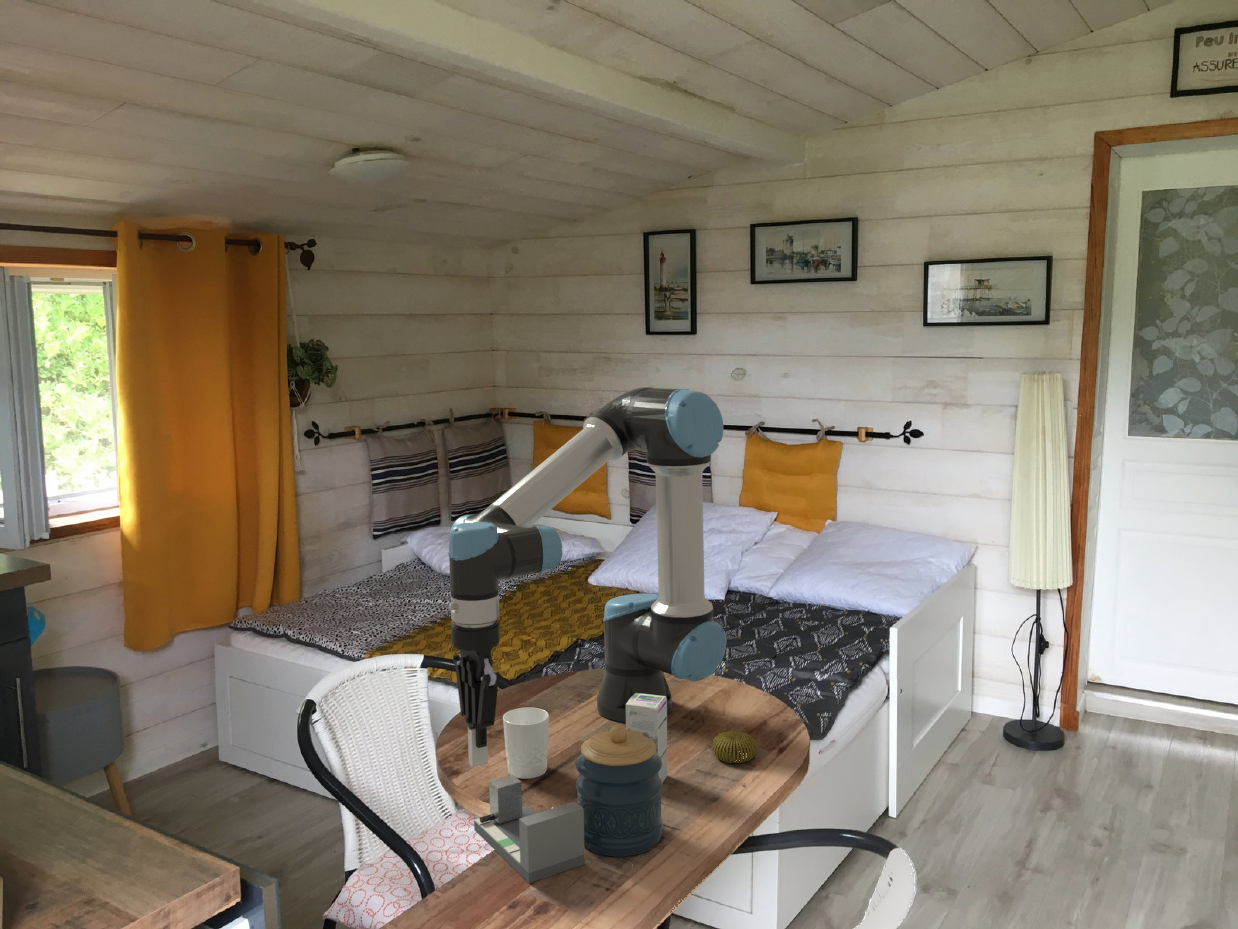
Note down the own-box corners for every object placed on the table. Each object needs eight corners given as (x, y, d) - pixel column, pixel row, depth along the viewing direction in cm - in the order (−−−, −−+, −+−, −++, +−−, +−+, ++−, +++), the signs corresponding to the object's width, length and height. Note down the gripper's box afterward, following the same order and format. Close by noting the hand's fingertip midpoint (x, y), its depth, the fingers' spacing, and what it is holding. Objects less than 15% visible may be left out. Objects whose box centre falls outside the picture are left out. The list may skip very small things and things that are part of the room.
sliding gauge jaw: (476, 820, 156) (475, 785, 155) (513, 809, 159) (512, 774, 159) (485, 828, 154) (483, 792, 153) (522, 816, 157) (521, 781, 156)
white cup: (543, 782, 173) (541, 726, 171) (498, 779, 174) (496, 723, 173) (555, 762, 180) (553, 708, 179) (512, 759, 182) (510, 706, 180)
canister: (559, 839, 154) (556, 727, 151) (616, 807, 163) (614, 702, 161) (623, 869, 145) (621, 751, 143) (680, 834, 155) (679, 723, 152)
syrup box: (668, 775, 174) (667, 694, 172) (658, 790, 169) (657, 707, 167) (636, 771, 176) (635, 690, 174) (625, 786, 171) (624, 703, 169)
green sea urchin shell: (715, 746, 177) (708, 728, 185) (715, 768, 177) (708, 749, 185) (760, 744, 177) (752, 726, 185) (760, 766, 178) (752, 747, 186)
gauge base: (474, 830, 157) (472, 778, 155) (526, 814, 161) (525, 763, 160) (529, 883, 142) (527, 826, 140) (584, 864, 146) (583, 808, 145)
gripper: (436, 615, 164) (440, 755, 167) (470, 635, 153) (473, 784, 156) (479, 608, 168) (482, 744, 171) (515, 627, 157) (517, 773, 160)
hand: (478, 763), depth 164 cm, fingers closed
